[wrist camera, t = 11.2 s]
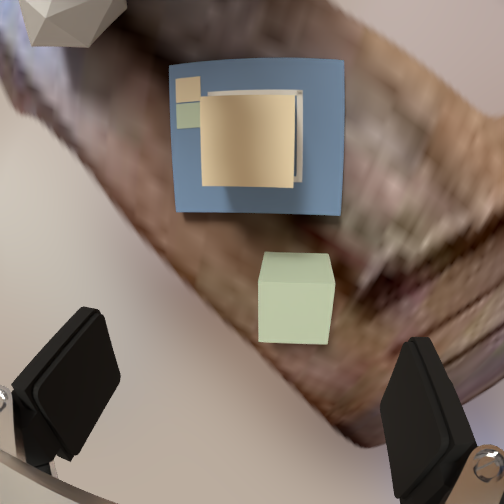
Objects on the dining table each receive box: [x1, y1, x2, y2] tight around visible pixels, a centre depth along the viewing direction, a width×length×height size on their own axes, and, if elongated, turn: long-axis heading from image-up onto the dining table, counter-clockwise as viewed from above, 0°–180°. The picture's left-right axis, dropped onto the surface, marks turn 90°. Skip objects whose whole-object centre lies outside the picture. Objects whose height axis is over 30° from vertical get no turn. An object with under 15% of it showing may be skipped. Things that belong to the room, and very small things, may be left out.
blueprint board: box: [169, 58, 345, 216], centre depth 22 cm, size 12×11×1 cm
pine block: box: [200, 95, 295, 188], centre depth 19 cm, size 5×5×5 cm
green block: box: [258, 252, 335, 344], centre depth 24 cm, size 5×5×5 cm
